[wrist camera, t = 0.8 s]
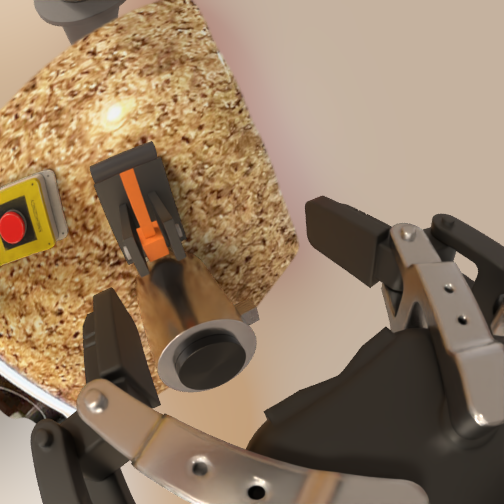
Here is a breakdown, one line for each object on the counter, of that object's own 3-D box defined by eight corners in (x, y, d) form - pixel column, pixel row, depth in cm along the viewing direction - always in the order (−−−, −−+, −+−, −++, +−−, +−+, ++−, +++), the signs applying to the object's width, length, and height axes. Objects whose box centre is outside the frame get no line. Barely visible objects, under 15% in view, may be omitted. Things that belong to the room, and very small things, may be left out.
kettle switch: (88, 159, 17) (90, 177, 15) (149, 135, 18) (157, 149, 17) (131, 250, 27) (137, 268, 26) (174, 231, 28) (182, 248, 27)
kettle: (121, 270, 35) (140, 361, 22) (208, 232, 40) (269, 298, 27) (158, 333, 43) (190, 416, 30) (229, 299, 48) (282, 369, 34)
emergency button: (66, 249, 26) (-22, 279, 20) (70, 235, 30) (-12, 263, 24) (45, 173, 21) (-46, 213, 15) (53, 167, 25) (-33, 202, 19)
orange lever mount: (94, 183, 29) (86, 212, 20) (159, 156, 31) (181, 172, 22) (127, 260, 35) (139, 313, 26) (184, 235, 38) (214, 278, 29)
